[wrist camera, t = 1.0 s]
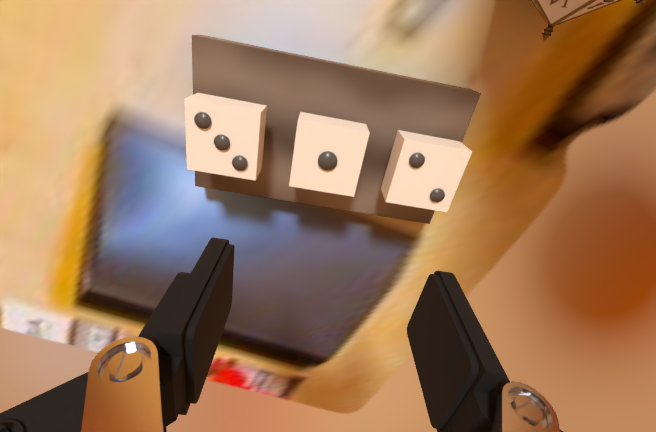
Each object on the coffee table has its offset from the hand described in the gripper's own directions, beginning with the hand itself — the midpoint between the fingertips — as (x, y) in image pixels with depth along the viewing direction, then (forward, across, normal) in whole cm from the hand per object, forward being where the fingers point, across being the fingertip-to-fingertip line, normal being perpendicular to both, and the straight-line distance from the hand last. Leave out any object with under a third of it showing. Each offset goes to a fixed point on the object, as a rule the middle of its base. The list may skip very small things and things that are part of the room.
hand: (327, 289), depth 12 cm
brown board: (+20, 0, 0) cm, 20 cm away
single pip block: (+16, 0, 0) cm, 16 cm away
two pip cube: (+16, -8, 0) cm, 18 cm away
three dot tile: (+16, +8, 0) cm, 18 cm away
